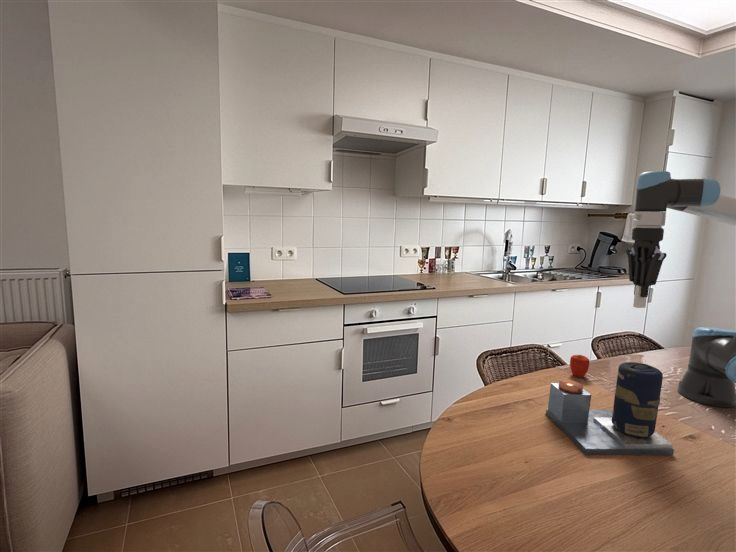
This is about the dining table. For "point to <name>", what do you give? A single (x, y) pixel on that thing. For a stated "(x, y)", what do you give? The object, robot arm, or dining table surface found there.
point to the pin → (570, 386)
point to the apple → (579, 365)
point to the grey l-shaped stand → (598, 427)
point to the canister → (637, 398)
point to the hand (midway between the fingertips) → (639, 307)
